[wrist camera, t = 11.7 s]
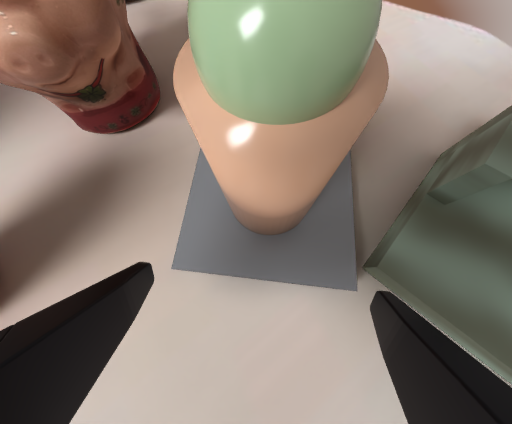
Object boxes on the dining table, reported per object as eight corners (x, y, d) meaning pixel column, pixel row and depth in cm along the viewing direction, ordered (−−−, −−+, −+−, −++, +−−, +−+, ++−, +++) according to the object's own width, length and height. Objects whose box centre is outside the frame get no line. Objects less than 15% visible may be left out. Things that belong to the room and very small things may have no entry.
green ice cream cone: (313, 234, 14) (638, -39, 2) (227, 235, 14) (18, -1, 2) (306, 160, 16) (436, -202, 4) (230, 162, 16) (134, -173, 4)
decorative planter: (42, 66, 24) (-230, -192, 11) (133, 27, 26) (-7, -236, 12) (89, 185, 18) (-381, -60, 5) (202, 125, 20) (77, -176, 7)
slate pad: (348, 289, 14) (357, 291, 13) (180, 269, 15) (171, 268, 14) (342, 144, 18) (349, 133, 17) (210, 136, 19) (206, 124, 18)
